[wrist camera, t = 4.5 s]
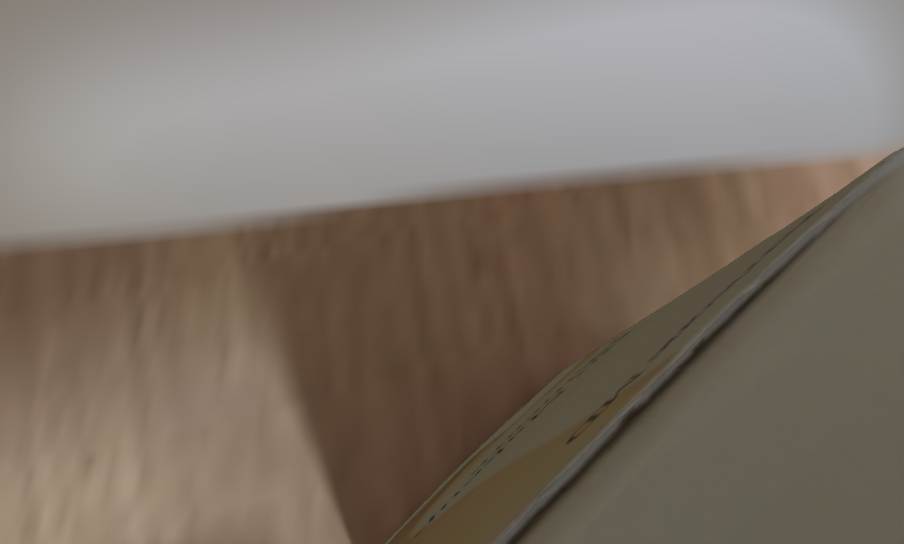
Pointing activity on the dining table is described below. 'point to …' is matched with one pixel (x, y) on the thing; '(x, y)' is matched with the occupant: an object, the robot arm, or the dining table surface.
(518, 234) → the dining table surface
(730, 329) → the skincare box
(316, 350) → the dining table surface
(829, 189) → the dining table surface
